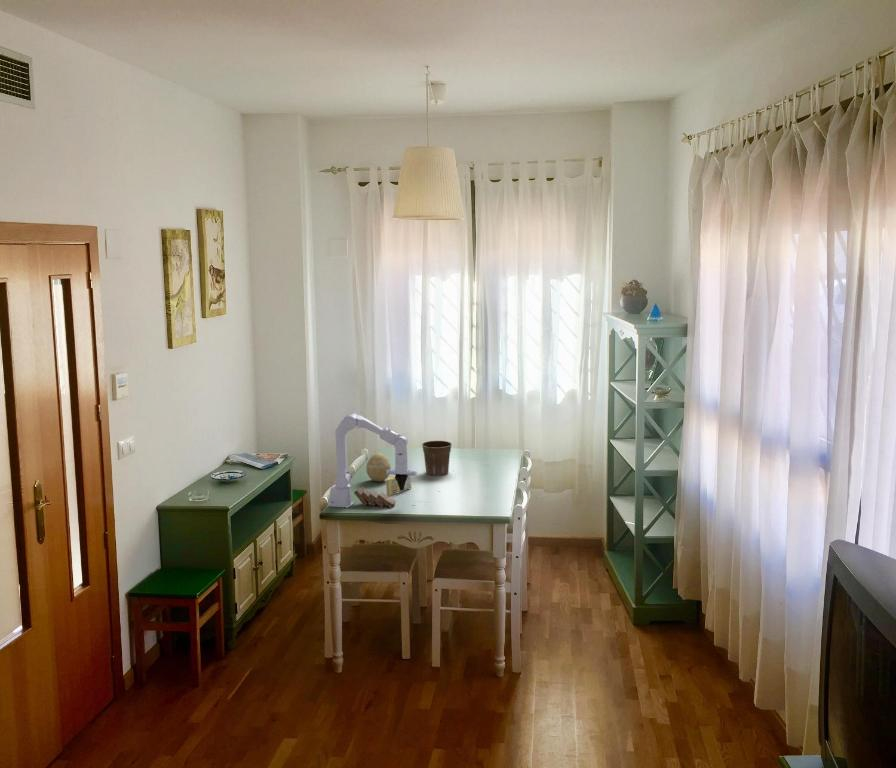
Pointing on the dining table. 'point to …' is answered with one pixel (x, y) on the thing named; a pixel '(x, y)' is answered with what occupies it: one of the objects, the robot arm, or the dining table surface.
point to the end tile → (358, 494)
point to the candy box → (396, 485)
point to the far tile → (386, 499)
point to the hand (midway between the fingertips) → (401, 489)
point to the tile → (366, 496)
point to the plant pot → (437, 457)
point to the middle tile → (374, 498)
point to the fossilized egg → (378, 467)
